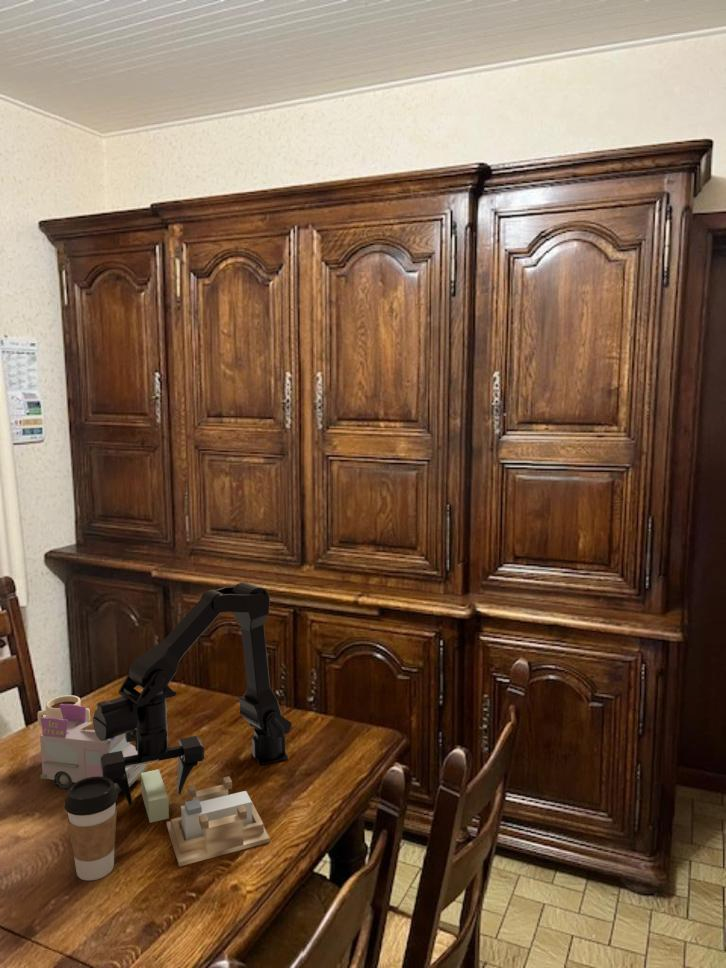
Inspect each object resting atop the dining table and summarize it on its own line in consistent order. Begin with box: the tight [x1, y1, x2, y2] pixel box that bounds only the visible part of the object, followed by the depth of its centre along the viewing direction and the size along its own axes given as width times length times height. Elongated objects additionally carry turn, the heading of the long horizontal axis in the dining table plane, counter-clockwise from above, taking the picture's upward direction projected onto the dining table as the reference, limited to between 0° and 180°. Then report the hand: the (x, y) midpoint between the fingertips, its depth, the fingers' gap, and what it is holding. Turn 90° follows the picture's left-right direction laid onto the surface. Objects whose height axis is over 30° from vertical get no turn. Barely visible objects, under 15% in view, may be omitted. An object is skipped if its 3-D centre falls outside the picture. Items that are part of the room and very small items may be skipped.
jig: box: [166, 776, 271, 867], centre depth 131 cm, size 16×13×7 cm
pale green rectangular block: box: [140, 768, 170, 824], centre depth 140 cm, size 4×11×4 cm, turn 25°
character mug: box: [37, 694, 91, 726], centre depth 158 cm, size 11×7×13 cm, turn 98°
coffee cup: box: [64, 776, 119, 881], centre depth 121 cm, size 8×8×15 cm
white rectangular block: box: [180, 790, 253, 841], centre depth 131 cm, size 12×4×6 cm, turn 114°
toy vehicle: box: [39, 704, 148, 794], centre depth 148 cm, size 9×20×15 cm, turn 78°
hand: (154, 798), depth 140 cm, fingers open, 9 cm apart
